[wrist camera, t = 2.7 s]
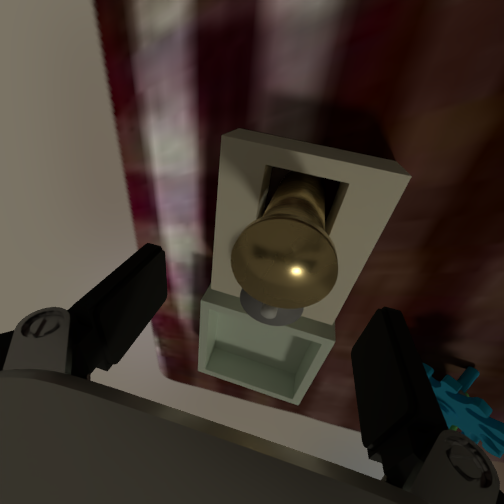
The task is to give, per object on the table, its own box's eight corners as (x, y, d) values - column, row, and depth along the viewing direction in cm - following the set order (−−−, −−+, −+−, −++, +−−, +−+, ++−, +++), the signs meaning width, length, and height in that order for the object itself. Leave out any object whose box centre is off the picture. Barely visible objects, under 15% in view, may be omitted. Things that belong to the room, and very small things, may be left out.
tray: (215, 276, 28) (200, 299, 25) (334, 311, 27) (335, 341, 23) (209, 346, 36) (198, 370, 33) (300, 376, 35) (298, 405, 31)
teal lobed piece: (391, 352, 26) (523, 443, 18) (425, 316, 27) (560, 386, 19) (395, 396, 32) (495, 479, 24) (423, 365, 33) (525, 433, 25)
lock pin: (277, 155, 20) (236, 208, 11) (342, 170, 19) (356, 238, 10) (265, 213, 22) (226, 292, 14) (321, 227, 22) (318, 320, 13)
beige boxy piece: (239, 128, 19) (194, 146, 13) (395, 161, 18) (436, 200, 11) (224, 265, 27) (192, 319, 21) (331, 295, 26) (333, 364, 19)
